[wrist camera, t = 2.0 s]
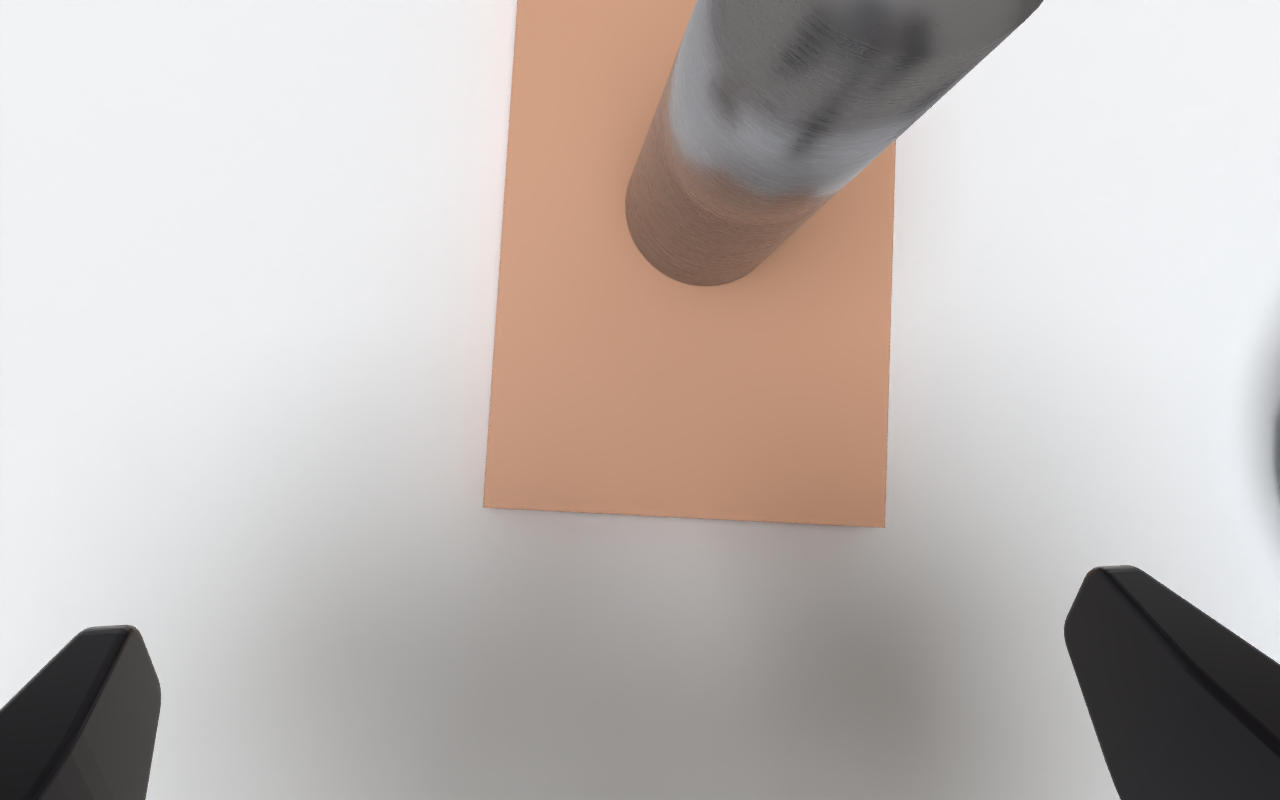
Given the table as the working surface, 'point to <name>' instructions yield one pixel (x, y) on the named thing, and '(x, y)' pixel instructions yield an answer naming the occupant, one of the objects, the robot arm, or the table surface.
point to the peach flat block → (672, 313)
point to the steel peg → (788, 117)
